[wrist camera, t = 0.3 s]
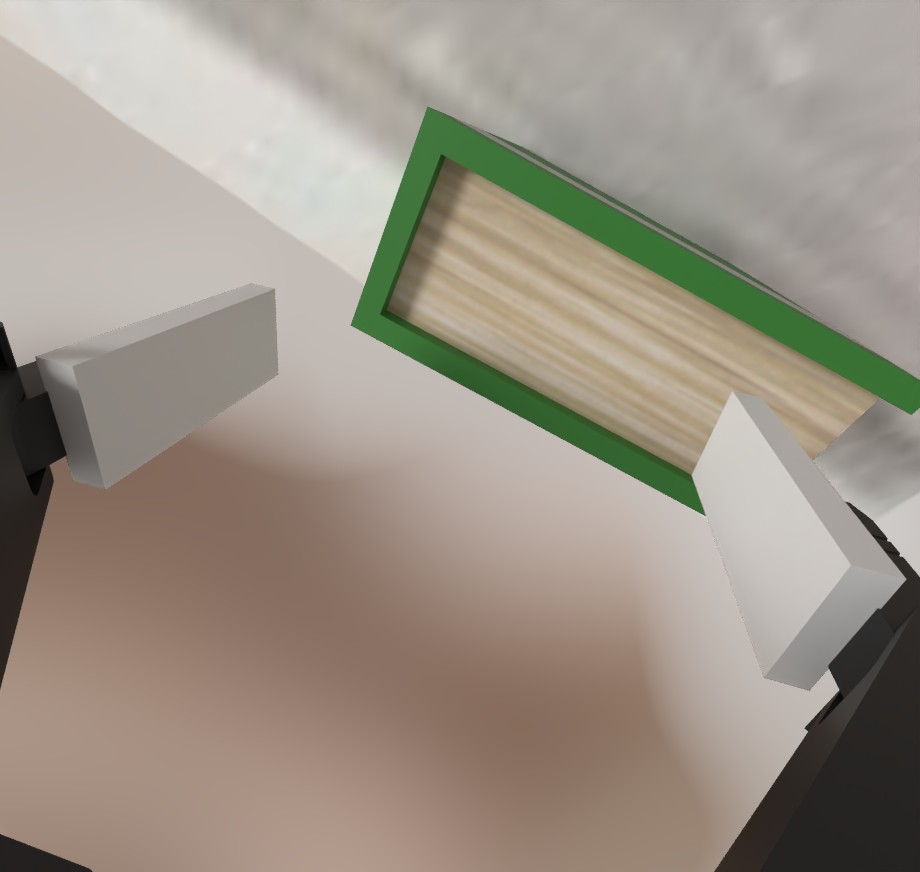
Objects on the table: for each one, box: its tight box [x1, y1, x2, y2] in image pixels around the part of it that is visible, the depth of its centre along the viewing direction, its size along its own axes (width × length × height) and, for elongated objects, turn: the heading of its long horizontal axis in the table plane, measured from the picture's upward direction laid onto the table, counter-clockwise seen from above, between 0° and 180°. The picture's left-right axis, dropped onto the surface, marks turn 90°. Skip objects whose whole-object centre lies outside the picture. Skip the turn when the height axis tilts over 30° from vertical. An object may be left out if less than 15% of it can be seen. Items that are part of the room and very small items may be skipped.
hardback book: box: [351, 107, 920, 516], centre depth 27 cm, size 18×7×24 cm, turn 64°
